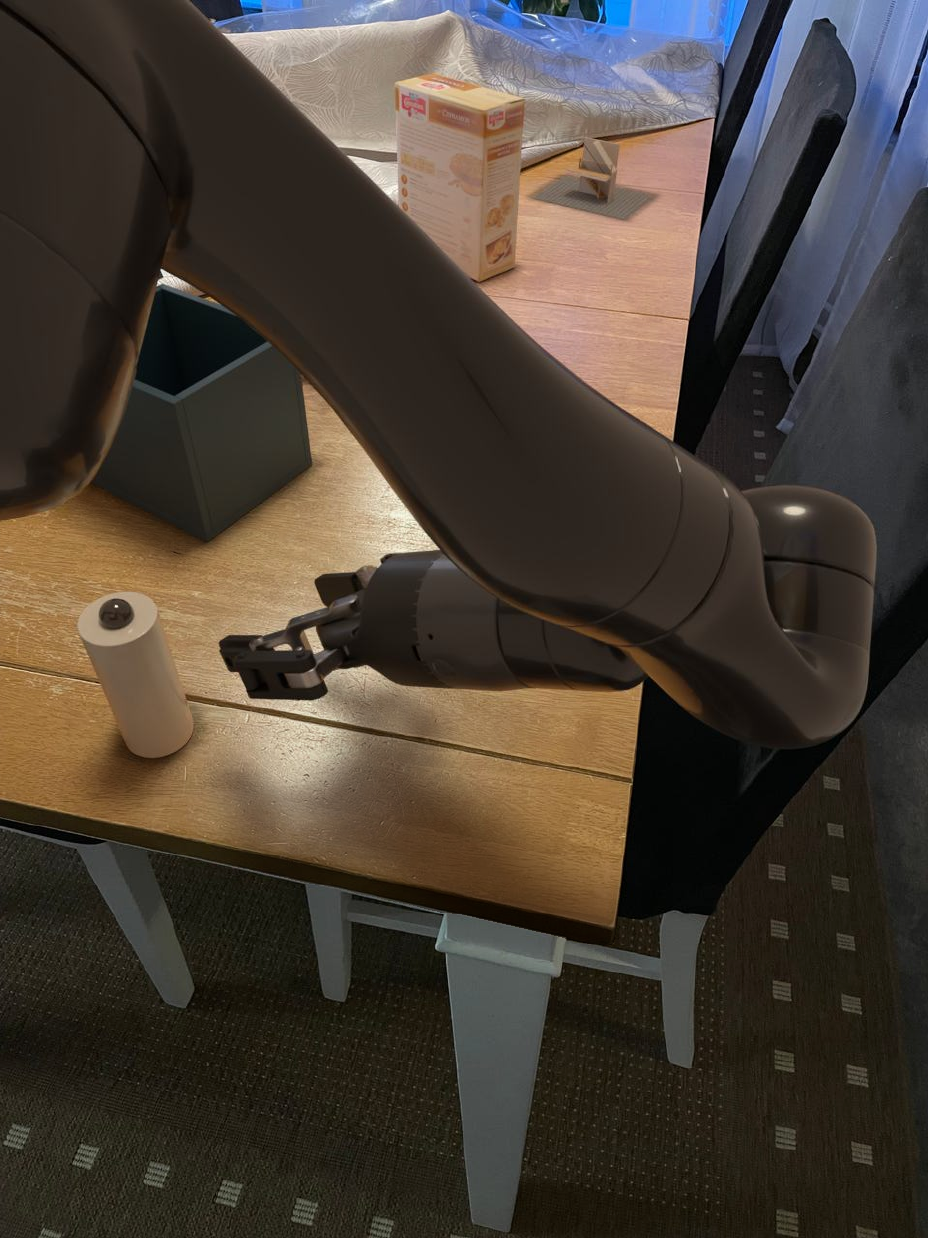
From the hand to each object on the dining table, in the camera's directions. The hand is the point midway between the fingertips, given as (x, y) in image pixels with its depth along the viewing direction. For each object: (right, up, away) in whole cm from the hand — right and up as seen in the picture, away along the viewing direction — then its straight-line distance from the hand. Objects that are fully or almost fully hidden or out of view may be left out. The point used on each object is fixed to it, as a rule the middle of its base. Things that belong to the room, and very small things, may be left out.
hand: (276, 620), depth 57 cm
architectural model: (+32, +63, +74) cm, 103 cm away
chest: (-12, +14, +24) cm, 30 cm away
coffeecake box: (+11, +47, +58) cm, 76 cm away
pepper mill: (-9, -8, +3) cm, 12 cm away
